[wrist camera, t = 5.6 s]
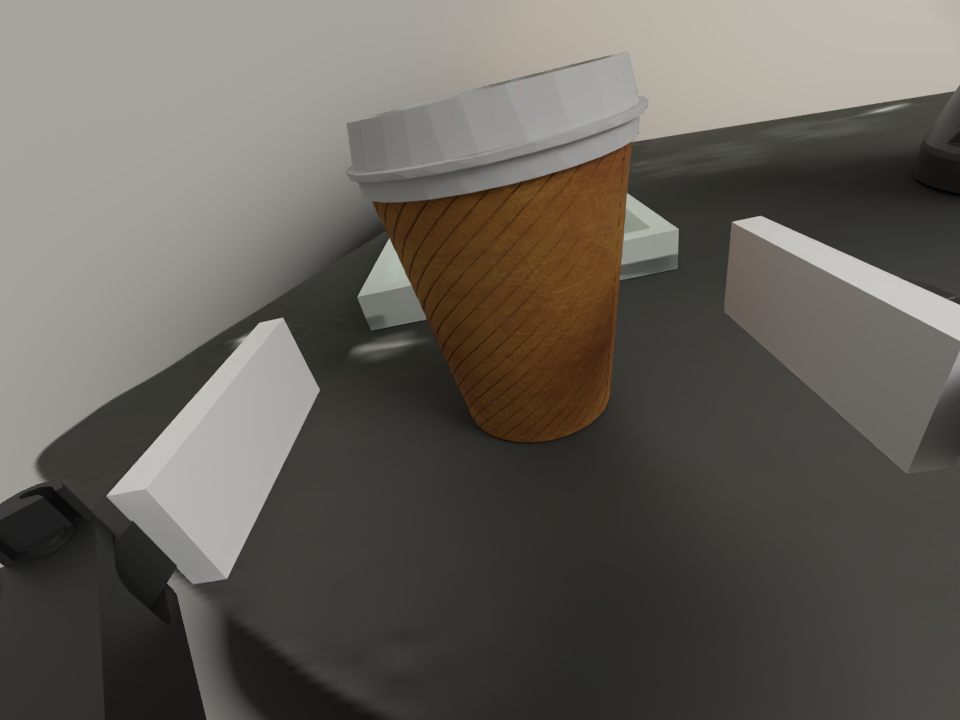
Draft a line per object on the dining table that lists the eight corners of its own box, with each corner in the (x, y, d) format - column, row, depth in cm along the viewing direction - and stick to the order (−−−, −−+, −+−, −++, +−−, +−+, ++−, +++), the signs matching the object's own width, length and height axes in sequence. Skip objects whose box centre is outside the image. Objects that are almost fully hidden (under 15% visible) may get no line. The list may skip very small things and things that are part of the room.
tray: (408, 240, 46) (400, 216, 45) (599, 198, 44) (597, 172, 43) (370, 330, 29) (357, 297, 28) (677, 268, 27) (678, 229, 26)
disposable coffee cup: (676, 468, 15) (689, 38, 9) (412, 481, 17) (267, 144, 11) (631, 328, 23) (621, 51, 16) (454, 349, 25) (386, 111, 19)
